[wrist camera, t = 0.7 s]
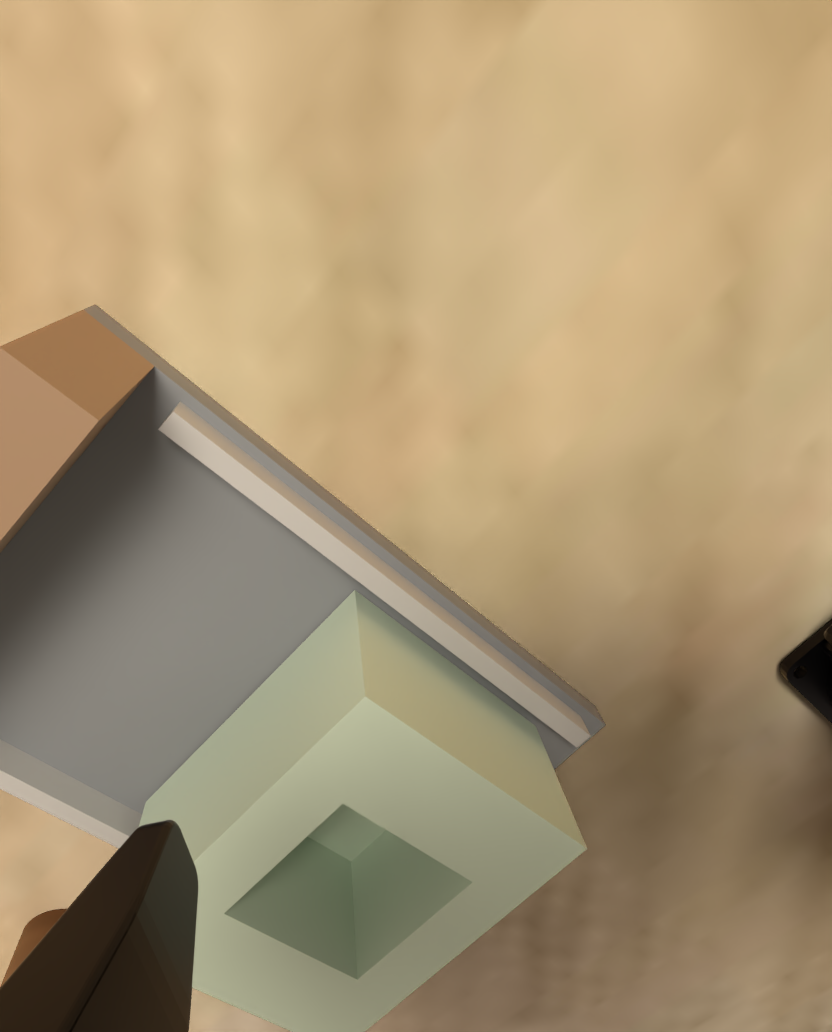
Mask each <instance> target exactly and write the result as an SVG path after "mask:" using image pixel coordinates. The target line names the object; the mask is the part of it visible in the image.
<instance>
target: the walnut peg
mask: <svg viewBox="0 0 832 1032" xmlns="http://www.w3.org/2000/svg"><path fill="white" fill-rule="evenodd" d="M66 910H67V909H60V910H52V911H48V912H45V913H42V914H40V915H38V916H36V917H35V918H33V919H32V920H31V921H30V922H29V923H28V924H27V925H26V926H25V928H24V930H23V933H22V935H21V938H20V940H19V942H18V945H17V947H16V950H15V952H14V955H13V957H12V960H11V962H10V965H9V967H8V970H7V972H6V975H5V977H4V979H3V982H2V984H1V986H2V985H3V984H4V982H5V981H6V980H7V979H8V978H9V977H10V975H11V974H12V973H13V972H14V971H15V970H16V968H17V967H18V966H19V965H20V964H21V963H22V961H23V960H24V959H25V958H26V957H27V956H28V954H29V953H30V952H31V951H32V950H33V949H34V947H35V946H36V945H37V944H38V943H39V942H40V940H41V939H42V938H43V937H44V936H45V935H46V933H47V932H48V931H49V930H50V929H51V928H52V926H53V925H54V924H55V923H56V922H57V921H58V919H59V918H60V917H61V916H62V915H63V913H64V912H65V911H66Z"/></svg>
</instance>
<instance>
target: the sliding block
mask: <svg viewBox="0 0 832 1032" xmlns="http://www.w3.org/2000/svg"><path fill="white" fill-rule="evenodd" d="M165 820H173V821H175V822H176V823H177V824H178V825H179V827H180V829H181V832H182V834H183V837H184V839H185V842H186V844H187V847H188V849H189V852H190V854H191V857H192V859H193V862H194V865H195V867H196V871H197V876H198V903H197V918H196V933H195V949H194V964H193V979H192V988H194V989H196V990H198V991H201V992H203V993H205V994H207V995H210V996H212V997H214V998H217V999H219V1000H221V1001H223V1002H226V1003H228V1004H230V1005H232V1006H235V1007H237V1008H239V1009H241V1010H244V1011H246V1012H248V1013H250V1014H253V1015H255V1016H257V1017H260V1018H262V1019H264V1020H266V1021H269V1022H271V1023H273V1024H275V1025H278V1026H280V1027H282V1028H284V1029H287V1030H289V1031H291V1032H365V1031H366V1030H368V1029H369V1028H370V1027H371V1026H372V1025H374V1024H375V1023H376V1022H377V1021H378V1020H380V1019H381V1018H382V1017H383V1016H385V1015H386V1014H387V1013H388V1012H389V1011H391V1010H392V1009H393V1008H394V1007H396V1006H397V1005H398V1004H399V1003H400V1002H402V1001H403V1000H404V999H405V998H406V997H408V996H409V995H410V994H411V993H413V992H414V991H415V990H416V989H417V988H419V987H420V986H421V985H422V984H423V983H425V982H426V981H427V980H428V979H430V978H431V977H432V976H433V975H434V974H436V973H437V972H438V971H439V970H441V969H442V968H443V967H444V966H445V965H447V964H448V963H449V962H450V961H451V960H453V959H454V958H455V957H456V956H458V955H459V954H460V953H461V952H462V951H464V950H465V949H466V948H467V947H469V946H470V945H471V944H472V943H473V942H475V941H476V940H477V939H478V938H479V937H481V936H482V935H483V934H484V933H486V932H487V931H488V930H489V929H490V928H492V927H493V926H494V925H495V924H496V923H498V922H499V921H500V920H501V919H503V918H504V917H505V916H506V915H507V914H509V913H510V912H511V911H512V910H514V909H515V908H516V907H517V906H518V905H520V904H521V903H522V902H523V901H524V900H526V899H527V898H528V897H529V896H531V895H532V894H533V893H534V892H535V891H537V890H538V889H539V888H540V887H542V886H543V885H544V884H545V883H546V882H548V881H549V880H550V879H551V878H552V877H554V876H555V875H556V874H557V873H559V872H560V871H561V870H562V869H563V868H565V867H566V866H567V865H568V864H570V863H571V862H572V861H573V860H574V859H576V858H577V857H578V856H579V855H580V854H582V853H583V852H584V851H585V850H587V847H586V844H585V842H584V840H583V837H582V835H581V833H580V830H579V828H578V825H577V823H576V821H575V818H574V816H573V814H572V811H571V809H570V806H569V804H568V802H567V799H566V797H565V795H564V792H563V790H562V787H561V785H560V783H559V780H558V778H557V776H556V773H555V771H554V768H553V766H552V764H551V761H550V759H549V757H548V754H547V752H546V750H545V747H544V745H543V742H542V740H541V738H540V735H539V733H538V731H537V728H536V726H535V725H534V724H532V723H531V722H530V721H528V720H527V719H526V718H524V717H523V716H522V715H520V714H519V713H518V712H516V711H515V710H514V709H512V708H511V707H510V706H508V705H507V704H506V703H504V702H503V701H502V700H500V699H499V698H498V697H496V696H495V695H494V694H492V693H491V692H490V691H488V690H487V689H486V688H484V687H483V686H482V685H480V684H479V683H478V682H476V681H475V680H474V679H472V678H471V677H470V676H469V675H467V674H466V673H465V672H463V671H462V670H461V669H459V668H458V667H457V666H455V665H454V664H453V663H451V662H450V661H449V660H447V659H446V658H445V657H443V656H442V655H441V654H439V653H438V652H437V651H435V650H434V649H433V648H431V647H430V646H429V645H427V644H426V643H425V642H423V641H422V640H421V639H419V638H418V637H417V636H415V635H414V634H413V633H411V632H410V631H409V630H407V629H406V628H405V627H403V626H402V625H401V624H399V623H398V622H397V621H395V620H394V619H393V618H391V617H390V616H389V615H387V614H386V613H385V612H383V611H382V610H381V609H379V608H378V607H377V606H375V605H374V604H373V603H372V602H370V601H369V600H368V599H366V598H365V597H364V596H362V595H361V594H360V593H358V592H357V591H356V590H354V591H353V592H352V593H351V594H350V595H349V596H348V597H347V598H346V599H345V600H344V601H343V602H342V603H341V604H340V605H339V606H338V607H337V608H336V609H335V610H334V611H333V612H332V614H331V615H330V616H329V617H328V618H327V619H326V620H325V621H324V622H323V623H322V624H321V625H320V626H319V627H318V628H317V629H316V630H315V631H314V632H313V633H312V634H311V635H310V636H309V637H308V638H307V639H306V640H305V641H304V642H303V643H302V644H301V645H300V646H299V647H298V648H297V649H296V650H295V651H294V652H293V653H292V654H291V655H290V656H289V657H288V658H287V659H286V660H285V661H284V662H283V663H282V664H281V665H280V666H279V667H278V668H277V669H276V670H275V671H274V672H273V673H272V674H271V675H270V676H269V677H268V678H267V679H266V680H265V681H264V682H263V683H262V684H261V686H260V687H259V688H258V689H257V690H256V691H255V692H254V693H253V694H252V695H251V696H250V697H249V698H248V699H247V700H246V701H245V702H244V703H243V704H242V705H241V706H240V707H239V708H238V709H237V710H236V711H235V712H234V713H233V714H232V715H231V716H230V717H229V718H228V719H227V720H226V721H225V722H224V723H223V724H222V725H221V726H220V727H219V728H218V729H217V730H216V731H215V732H214V733H213V734H212V735H211V736H210V737H209V738H208V739H207V740H206V741H205V742H204V743H203V744H202V745H201V746H200V747H199V748H198V749H197V750H196V751H195V752H194V753H193V754H192V755H191V756H190V757H189V759H188V760H187V761H186V762H185V763H184V764H183V765H182V766H181V767H180V768H179V769H178V770H177V771H176V772H175V773H174V774H173V775H172V776H171V777H170V778H169V779H168V780H167V781H166V782H165V783H164V784H163V785H162V786H161V787H160V788H159V789H158V790H157V791H156V792H155V793H154V794H153V795H152V796H151V797H150V798H149V799H148V800H147V801H146V803H145V806H144V810H143V813H142V817H141V820H140V824H139V827H140V826H142V825H145V824H150V823H155V822H160V821H165Z"/></svg>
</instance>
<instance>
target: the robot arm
mask: <svg viewBox="0 0 832 1032" xmlns="http://www.w3.org/2000/svg"><path fill="white" fill-rule="evenodd" d="M798 667H799V668H798ZM796 668H798V669H797V670H795V669H796ZM780 672H781V674H782V675H783V676H784V677H785V678H786V679H787V680H788V681H789V682H790V683H791V684H792V685H793V686H794V687H795V688H796V689H797V690H798V691H799V692H800V693H801V694H802V695H803V696H804V697H805V698H806V699H807V700H808V701H809V702H810V703H811V704H812V705H813V706H814V707H815V708H817V709H818V710H819V711H820V712H821V713H822V714H823V715H824V716H825V717H826V718H827V719H828V720H829V721H830V722H831V723H832V620H831V621H830V622H829V623H827V624H826V625H825V626H824V627H823V628H821V629H820V630H819V631H818V632H817V633H815V634H814V635H813V636H812V637H811V638H809V639H808V640H807V641H806V642H805V643H803V644H802V645H801V646H800V647H799V648H797V649H796V650H795V651H794V652H793V653H791V654H790V655H789V656H788V657H787V658H785V660H784V661H783V662H782V664H781V666H780ZM197 903H198V876H197V871H196V867H195V865H194V862H193V859H192V857H191V854H190V852H189V849H188V847H187V844H186V842H185V839H184V837H183V834H182V832H181V829H180V827H179V825H178V824H177V823H176V822H175V821H173V820H165V821H160V822H155V823H150V824H145V825H142V826H140V827H138V828H137V829H136V830H135V831H134V832H133V833H132V834H131V835H130V836H129V838H128V839H127V840H126V841H125V842H124V843H123V845H122V846H121V847H120V848H119V849H118V850H117V852H116V853H115V854H114V855H113V856H112V857H111V859H110V860H109V861H108V862H107V863H106V864H105V866H104V867H103V868H102V869H101V870H100V871H99V873H98V874H97V875H96V876H95V877H94V878H93V880H92V881H91V882H90V883H89V884H88V885H87V887H86V888H85V889H84V890H83V891H82V892H81V894H80V895H79V896H78V897H77V898H76V899H75V901H74V902H73V903H72V904H71V905H70V906H69V908H68V909H67V910H66V911H65V912H64V913H63V915H62V916H61V917H60V918H59V919H58V921H57V922H56V923H55V924H54V925H53V926H52V928H51V929H50V930H49V931H48V932H47V933H46V935H45V936H44V937H43V938H42V939H41V940H40V942H39V943H38V944H37V945H36V946H35V947H34V949H33V950H32V951H31V952H30V953H29V954H28V956H27V957H26V958H25V959H24V960H23V961H22V963H21V964H20V965H19V966H18V967H17V968H16V970H15V971H14V972H13V973H12V974H11V975H10V977H9V978H8V979H7V980H6V981H5V982H4V984H3V985H2V986H1V987H0V1032H188V1031H189V1020H190V1009H191V995H192V979H193V964H194V949H195V933H196V918H197Z"/></svg>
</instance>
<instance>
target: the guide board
mask: <svg viewBox="0 0 832 1032" xmlns="http://www.w3.org/2000/svg"><path fill="white" fill-rule="evenodd" d="M354 590H356V591H357V592H358V593H360V594H361V595H362V596H364V597H365V598H366V599H368V600H369V601H370V602H372V603H373V604H374V605H375V606H377V607H378V608H379V609H381V610H382V611H383V612H385V613H386V614H387V615H389V616H390V617H391V618H393V619H394V620H395V621H397V622H398V623H399V624H401V625H402V626H403V627H405V628H406V629H407V630H409V631H410V632H411V633H413V634H414V635H415V636H417V637H418V638H419V639H421V640H422V641H423V642H425V643H426V644H427V645H429V646H430V647H431V648H433V649H434V650H435V651H437V652H438V653H439V654H441V655H442V656H443V657H445V658H446V659H447V660H449V661H450V662H451V663H453V664H454V665H455V666H457V667H458V668H459V669H461V670H462V671H463V672H465V673H466V674H467V675H469V676H470V677H471V678H472V679H474V680H475V681H476V682H478V683H479V684H480V685H482V686H483V687H484V688H486V689H487V690H488V691H490V692H491V693H492V694H494V695H495V696H496V697H498V698H499V699H500V700H502V701H503V702H504V703H506V704H507V705H508V706H510V707H511V708H512V709H514V710H515V711H516V712H518V713H519V714H520V715H522V716H523V717H524V718H526V719H527V720H528V721H530V722H531V723H532V724H534V725H535V726H536V728H537V731H538V733H539V735H540V738H541V740H542V742H543V745H544V747H545V750H546V752H547V754H548V757H549V759H550V761H551V764H552V766H553V768H554V769H555V768H557V767H558V766H559V765H560V764H561V763H562V762H563V761H565V760H566V759H567V758H568V757H569V756H570V755H572V754H573V753H574V752H575V751H576V750H577V749H579V748H580V747H581V746H582V745H583V744H584V743H585V742H587V741H588V740H589V739H590V738H591V737H592V736H594V735H595V734H596V733H597V732H598V731H599V730H601V729H602V728H603V727H604V726H605V723H604V721H603V719H602V717H601V716H600V714H599V712H598V710H597V708H596V707H595V706H594V705H593V704H592V703H591V702H589V701H588V700H587V699H586V698H584V697H583V696H582V695H581V694H579V693H578V692H577V691H576V690H574V689H573V688H572V687H571V686H569V685H568V684H567V683H566V682H564V681H563V680H562V679H561V678H559V677H558V676H557V675H556V674H554V673H553V672H552V671H551V670H550V669H548V668H547V667H546V666H545V665H543V664H542V663H541V662H540V661H538V660H537V659H536V658H535V657H533V656H532V655H531V654H530V653H528V652H527V651H526V650H525V649H523V648H522V647H521V646H520V645H518V644H517V643H516V642H515V641H513V640H512V639H511V638H510V637H508V636H507V635H506V634H505V633H503V632H502V631H501V630H500V629H498V628H497V627H496V626H495V625H494V624H492V623H491V622H490V621H489V620H487V619H486V618H485V617H484V616H482V615H481V614H480V613H479V612H477V611H476V610H475V609H474V608H472V607H471V606H470V605H469V604H467V603H466V602H465V601H464V600H462V599H461V598H460V597H459V596H457V595H456V594H455V593H454V592H452V591H451V590H450V589H449V588H447V587H446V586H445V585H444V584H442V583H441V582H440V581H439V580H437V579H436V578H435V577H434V576H433V575H431V574H430V573H429V572H428V571H426V570H425V569H424V568H423V567H421V566H420V565H419V564H418V563H416V562H415V561H414V560H413V559H411V558H410V557H409V556H408V555H406V554H405V553H404V552H403V551H401V550H400V549H399V548H398V547H396V546H395V545H394V544H393V543H391V542H390V541H389V540H388V539H386V538H385V537H384V536H383V535H381V534H380V533H379V532H378V531H377V530H375V529H374V528H373V527H372V526H370V525H369V524H368V523H367V522H365V521H364V520H363V519H362V518H360V517H359V516H358V515H357V514H355V513H354V512H353V511H352V510H350V509H349V508H348V507H347V506H345V505H344V504H343V503H342V502H340V501H339V500H338V499H337V498H335V497H334V496H333V495H332V494H330V493H329V492H328V491H327V490H325V489H324V488H323V487H322V486H320V485H319V484H318V483H317V482H316V481H314V480H313V479H312V478H311V477H309V476H308V475H307V474H306V473H304V472H303V471H302V470H301V469H299V468H298V467H297V466H296V465H294V464H293V463H292V462H291V461H289V460H288V459H287V458H286V457H284V456H283V455H282V454H281V453H279V452H278V451H277V450H276V449H274V448H273V447H272V446H271V445H269V444H268V443H267V442H266V441H264V440H263V439H262V438H261V437H260V436H258V435H257V434H256V433H255V432H253V431H252V430H251V429H250V428H248V427H247V426H246V425H245V424H243V423H242V422H241V421H240V420H238V419H237V418H236V417H235V416H233V415H232V414H231V413H230V412H228V411H227V410H226V409H225V408H223V407H222V406H221V405H220V404H218V403H217V402H216V401H215V400H213V399H212V398H211V397H210V396H208V395H207V394H206V393H205V392H203V391H202V390H201V389H200V388H199V387H197V386H196V385H195V384H194V383H192V382H191V381H190V380H189V379H187V378H186V377H185V376H184V375H182V374H181V373H180V372H179V371H177V370H176V369H175V368H174V367H172V366H171V365H170V364H169V363H167V362H166V361H165V360H164V359H162V358H161V357H160V356H159V355H157V354H156V353H155V352H154V351H152V350H151V349H150V348H149V347H147V346H146V345H145V344H144V343H143V342H141V341H140V340H139V339H138V338H136V337H135V336H134V335H133V334H131V333H130V332H129V331H128V330H126V329H125V328H124V327H123V326H121V325H120V324H119V323H118V322H116V321H115V320H114V319H113V318H111V317H110V316H109V315H108V314H106V313H105V312H104V311H103V310H101V309H100V308H99V307H98V306H96V305H93V306H91V307H88V308H86V309H84V310H82V311H79V312H77V313H75V314H73V315H70V316H68V317H66V318H64V319H61V320H59V321H57V322H55V323H52V324H50V325H48V326H45V327H43V328H41V329H39V330H36V331H34V332H32V333H30V334H27V335H25V336H23V337H21V338H18V339H16V340H14V341H12V342H9V343H7V344H5V345H3V346H0V789H1V790H3V791H5V792H7V793H9V794H11V795H13V796H15V797H17V798H19V799H21V800H23V801H25V802H27V803H29V804H31V805H33V806H35V807H37V808H39V809H41V810H43V811H45V812H47V813H49V814H51V815H53V816H55V817H57V818H59V819H61V820H63V821H65V822H67V823H69V824H71V825H73V826H75V827H77V828H79V829H81V830H83V831H85V832H87V833H89V834H91V835H93V836H95V837H97V838H99V839H101V840H103V841H105V842H107V843H109V844H111V845H113V846H115V847H117V848H120V847H121V846H122V845H123V843H124V842H125V841H126V840H127V839H128V838H129V836H130V835H131V834H132V833H133V832H134V831H135V830H136V829H137V828H138V827H139V824H140V820H141V817H142V813H143V810H144V806H145V803H146V801H147V800H148V799H149V798H150V797H151V796H152V795H153V794H154V793H155V792H156V791H157V790H158V789H159V788H160V787H161V786H162V785H163V784H164V783H165V782H166V781H167V780H168V779H169V778H170V777H171V776H172V775H173V774H174V773H175V772H176V771H177V770H178V769H179V768H180V767H181V766H182V765H183V764H184V763H185V762H186V761H187V760H188V759H189V757H190V756H191V755H192V754H193V753H194V752H195V751H196V750H197V749H198V748H199V747H200V746H201V745H202V744H203V743H204V742H205V741H206V740H207V739H208V738H209V737H210V736H211V735H212V734H213V733H214V732H215V731H216V730H217V729H218V728H219V727H220V726H221V725H222V724H223V723H224V722H225V721H226V720H227V719H228V718H229V717H230V716H231V715H232V714H233V713H234V712H235V711H236V710H237V709H238V708H239V707H240V706H241V705H242V704H243V703H244V702H245V701H246V700H247V699H248V698H249V697H250V696H251V695H252V694H253V693H254V692H255V691H256V690H257V689H258V688H259V687H260V686H261V684H262V683H263V682H264V681H265V680H266V679H267V678H268V677H269V676H270V675H271V674H272V673H273V672H274V671H275V670H276V669H277V668H278V667H279V666H280V665H281V664H282V663H283V662H284V661H285V660H286V659H287V658H288V657H289V656H290V655H291V654H292V653H293V652H294V651H295V650H296V649H297V648H298V647H299V646H300V645H301V644H302V643H303V642H304V641H305V640H306V639H307V638H308V637H309V636H310V635H311V634H312V633H313V632H314V631H315V630H316V629H317V628H318V627H319V626H320V625H321V624H322V623H323V622H324V621H325V620H326V619H327V618H328V617H329V616H330V615H331V614H332V612H333V611H334V610H335V609H336V608H337V607H338V606H339V605H340V604H341V603H342V602H343V601H344V600H345V599H346V598H347V597H348V596H349V595H350V594H351V593H352V592H353V591H354Z"/></svg>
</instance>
